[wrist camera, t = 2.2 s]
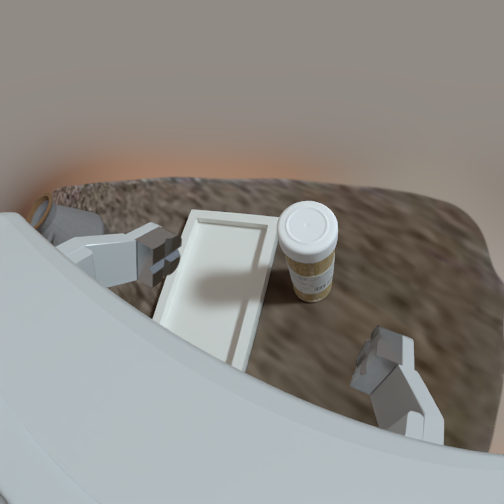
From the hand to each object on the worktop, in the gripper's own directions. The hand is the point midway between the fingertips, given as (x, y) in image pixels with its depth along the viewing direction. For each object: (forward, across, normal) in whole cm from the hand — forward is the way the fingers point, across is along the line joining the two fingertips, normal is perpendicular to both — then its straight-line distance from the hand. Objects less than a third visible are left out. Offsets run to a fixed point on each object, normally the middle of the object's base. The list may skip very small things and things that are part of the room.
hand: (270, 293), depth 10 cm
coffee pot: (+13, +30, +22) cm, 40 cm away
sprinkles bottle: (+19, -1, +12) cm, 23 cm away
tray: (+15, +9, +17) cm, 24 cm away
